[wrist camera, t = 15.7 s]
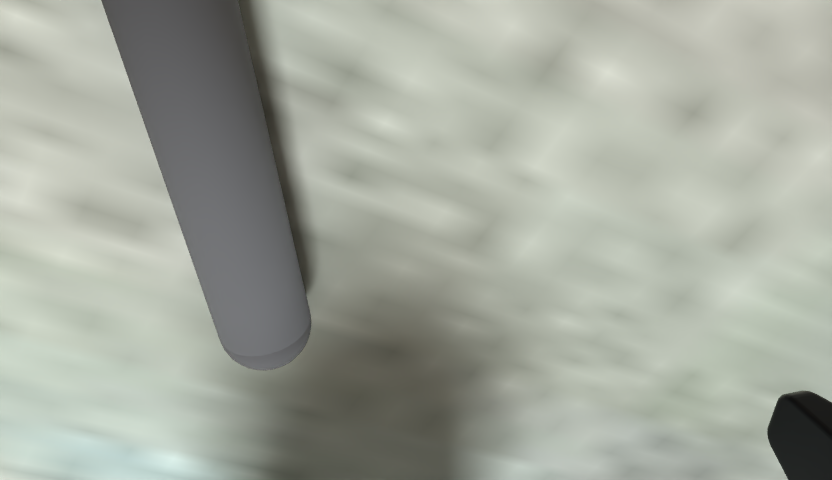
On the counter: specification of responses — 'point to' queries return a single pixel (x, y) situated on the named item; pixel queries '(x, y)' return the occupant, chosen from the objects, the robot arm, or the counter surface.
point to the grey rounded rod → (218, 168)
